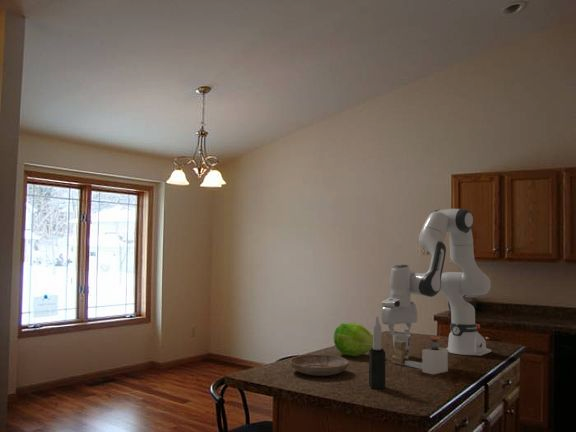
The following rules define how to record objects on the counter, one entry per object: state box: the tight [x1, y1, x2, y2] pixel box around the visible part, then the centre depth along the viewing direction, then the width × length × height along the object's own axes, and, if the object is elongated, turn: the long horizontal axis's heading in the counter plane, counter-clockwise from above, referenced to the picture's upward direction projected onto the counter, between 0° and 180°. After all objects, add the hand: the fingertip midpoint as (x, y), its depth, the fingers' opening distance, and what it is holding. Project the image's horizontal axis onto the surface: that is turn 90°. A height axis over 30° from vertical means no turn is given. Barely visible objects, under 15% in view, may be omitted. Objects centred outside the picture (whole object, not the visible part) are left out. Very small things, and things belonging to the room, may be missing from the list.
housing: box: [421, 346, 449, 375], centre depth 210 cm, size 10×5×9 cm, turn 128°
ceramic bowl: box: [289, 354, 350, 377], centre depth 206 cm, size 23×24×5 cm
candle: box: [368, 316, 386, 390], centre depth 185 cm, size 5×5×25 cm
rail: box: [395, 359, 422, 370], centre depth 219 cm, size 2×18×2 cm, turn 38°
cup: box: [392, 333, 411, 357], centre depth 240 cm, size 8×8×10 cm
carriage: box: [391, 341, 409, 366], centre depth 224 cm, size 5×5×9 cm
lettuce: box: [333, 322, 373, 357], centre depth 241 cm, size 17×20×15 cm
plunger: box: [429, 336, 441, 350], centre depth 211 cm, size 4×4×6 cm
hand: (399, 334), depth 224 cm, fingers open, 8 cm apart
